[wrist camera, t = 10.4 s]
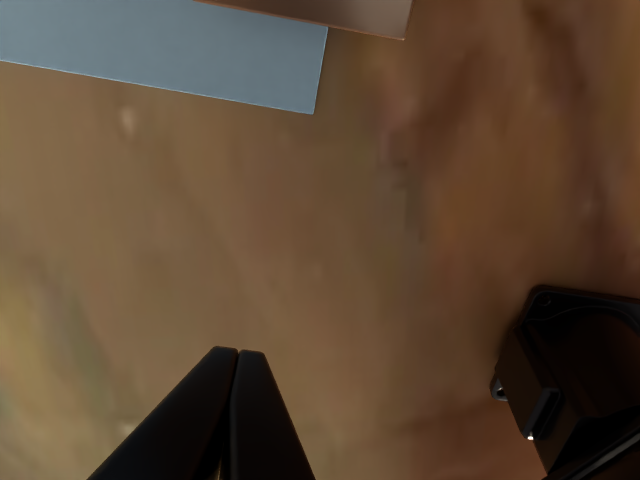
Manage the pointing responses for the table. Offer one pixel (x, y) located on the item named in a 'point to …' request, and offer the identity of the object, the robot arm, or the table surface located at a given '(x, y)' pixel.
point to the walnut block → (335, 13)
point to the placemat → (170, 47)
